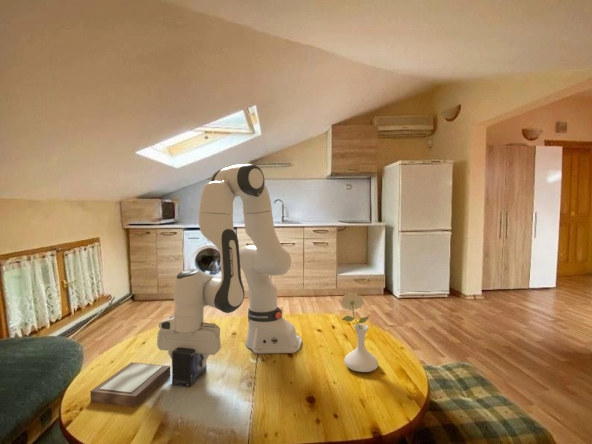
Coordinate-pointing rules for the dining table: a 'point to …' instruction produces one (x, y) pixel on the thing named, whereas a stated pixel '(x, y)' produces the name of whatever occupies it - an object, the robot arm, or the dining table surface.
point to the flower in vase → (359, 356)
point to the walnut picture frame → (130, 384)
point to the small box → (186, 366)
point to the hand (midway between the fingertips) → (189, 364)
